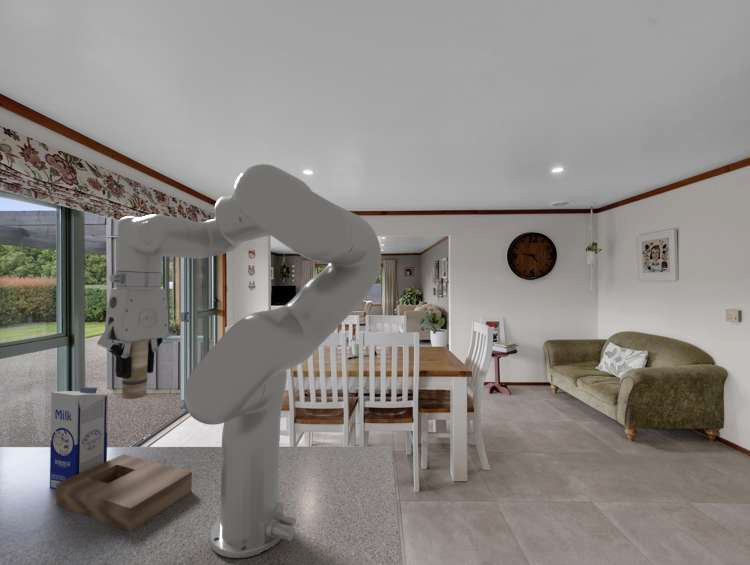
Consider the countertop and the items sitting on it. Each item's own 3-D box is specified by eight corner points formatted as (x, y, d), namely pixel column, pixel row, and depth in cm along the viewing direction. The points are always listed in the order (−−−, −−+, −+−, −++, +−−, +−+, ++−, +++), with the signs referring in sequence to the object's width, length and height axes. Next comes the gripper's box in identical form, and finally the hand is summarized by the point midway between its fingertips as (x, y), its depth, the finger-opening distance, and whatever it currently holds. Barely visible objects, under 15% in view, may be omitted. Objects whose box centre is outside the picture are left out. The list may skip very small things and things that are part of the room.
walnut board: (191, 491, 75) (191, 472, 75) (129, 531, 63) (130, 508, 63) (123, 471, 82) (123, 454, 82) (55, 504, 70) (56, 483, 70)
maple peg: (151, 394, 73) (154, 334, 73) (131, 400, 69) (134, 337, 69) (136, 391, 75) (139, 332, 74) (116, 396, 71) (119, 334, 71)
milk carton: (48, 488, 76) (50, 391, 75) (82, 471, 82) (83, 382, 82) (75, 493, 74) (77, 394, 74) (107, 476, 80) (108, 385, 80)
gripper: (108, 282, 63) (103, 389, 63) (188, 282, 78) (185, 368, 78) (79, 280, 65) (75, 382, 65) (162, 280, 81) (159, 363, 81)
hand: (135, 373), depth 72 cm, fingers closed on maple peg, 4 cm apart
